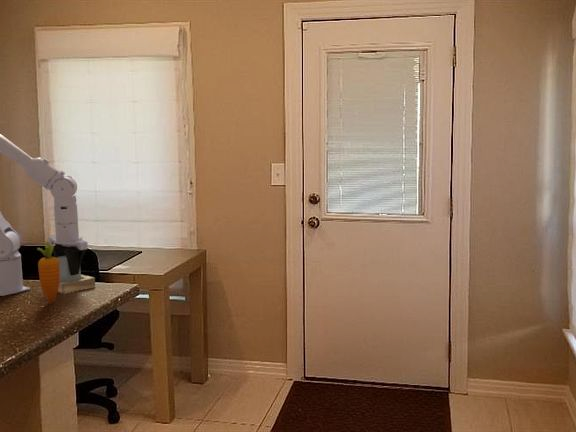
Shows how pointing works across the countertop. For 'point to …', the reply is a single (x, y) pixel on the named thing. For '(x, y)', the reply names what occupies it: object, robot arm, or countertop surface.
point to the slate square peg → (67, 271)
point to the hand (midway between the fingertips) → (69, 273)
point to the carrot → (49, 273)
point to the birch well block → (76, 284)
